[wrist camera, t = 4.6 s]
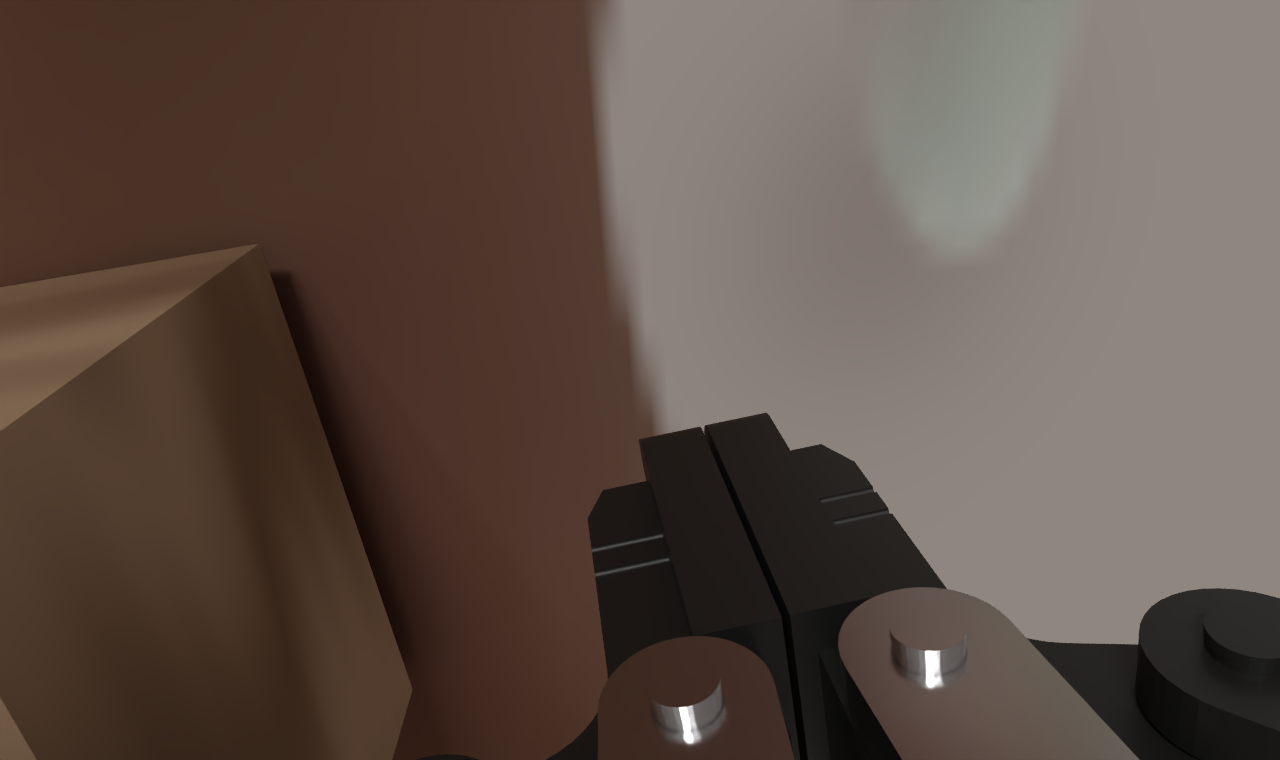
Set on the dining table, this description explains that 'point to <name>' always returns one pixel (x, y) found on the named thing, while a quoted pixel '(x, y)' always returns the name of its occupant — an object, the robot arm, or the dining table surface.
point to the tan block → (178, 530)
